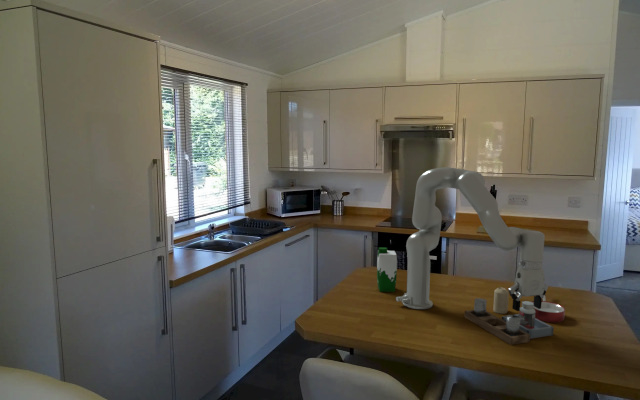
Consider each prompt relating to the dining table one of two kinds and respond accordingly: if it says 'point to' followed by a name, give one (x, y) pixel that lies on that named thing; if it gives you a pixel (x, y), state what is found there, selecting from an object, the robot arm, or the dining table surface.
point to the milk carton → (386, 270)
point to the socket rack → (497, 327)
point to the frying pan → (549, 312)
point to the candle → (501, 300)
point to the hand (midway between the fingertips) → (526, 308)
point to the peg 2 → (512, 325)
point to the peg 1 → (480, 307)
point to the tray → (536, 328)
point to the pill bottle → (527, 315)
